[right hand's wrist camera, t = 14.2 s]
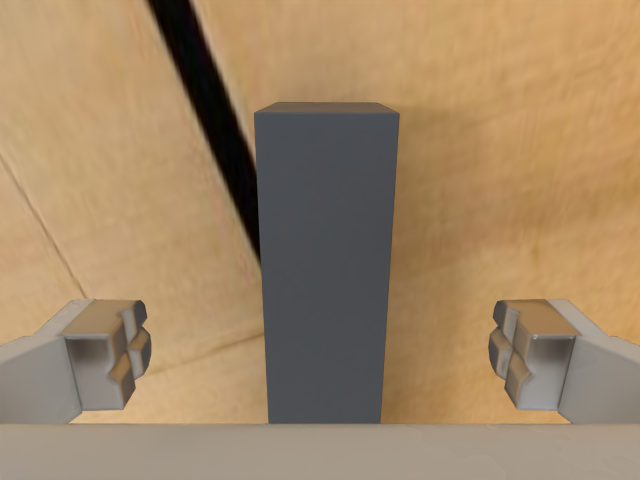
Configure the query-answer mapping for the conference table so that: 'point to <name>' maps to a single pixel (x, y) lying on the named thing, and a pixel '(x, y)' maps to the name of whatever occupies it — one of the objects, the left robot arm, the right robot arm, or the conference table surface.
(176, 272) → the conference table surface
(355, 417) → the box
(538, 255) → the conference table surface
